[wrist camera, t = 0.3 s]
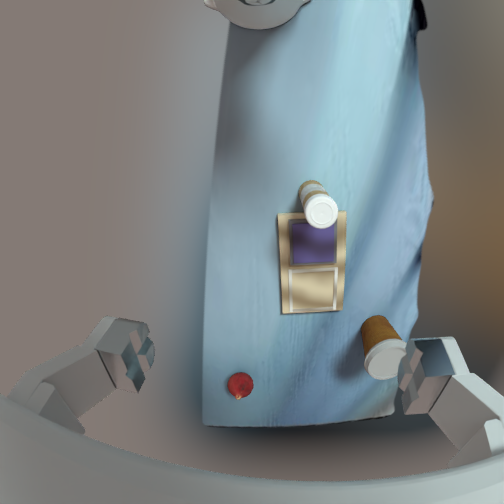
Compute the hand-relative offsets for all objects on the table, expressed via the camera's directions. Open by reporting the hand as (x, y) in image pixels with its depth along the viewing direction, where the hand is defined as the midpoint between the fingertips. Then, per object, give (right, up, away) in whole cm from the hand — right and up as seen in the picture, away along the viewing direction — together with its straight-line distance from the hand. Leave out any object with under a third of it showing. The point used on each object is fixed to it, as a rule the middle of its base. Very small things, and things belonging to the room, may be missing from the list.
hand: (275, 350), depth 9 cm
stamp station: (+11, +1, +49) cm, 50 cm away
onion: (-3, -26, +61) cm, 67 cm away
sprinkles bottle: (+9, +13, +44) cm, 47 cm away
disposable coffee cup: (+26, -13, +54) cm, 61 cm away
